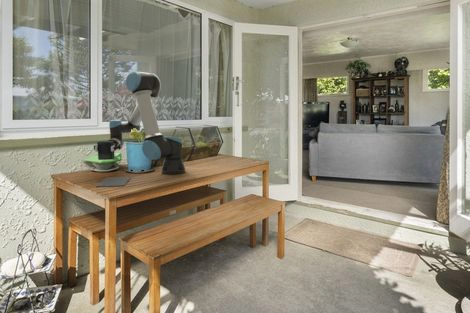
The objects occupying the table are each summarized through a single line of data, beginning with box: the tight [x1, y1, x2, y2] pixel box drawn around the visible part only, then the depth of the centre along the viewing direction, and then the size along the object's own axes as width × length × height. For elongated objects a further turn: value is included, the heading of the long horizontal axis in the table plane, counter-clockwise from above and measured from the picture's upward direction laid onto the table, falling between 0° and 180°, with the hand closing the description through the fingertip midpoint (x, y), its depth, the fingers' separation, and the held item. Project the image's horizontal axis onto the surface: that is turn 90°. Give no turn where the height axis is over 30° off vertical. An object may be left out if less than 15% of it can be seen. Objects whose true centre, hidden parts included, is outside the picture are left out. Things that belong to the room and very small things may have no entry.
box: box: [96, 140, 116, 161], centre depth 185 cm, size 8×6×11 cm
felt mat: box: [95, 176, 132, 188], centre depth 175 cm, size 14×20×1 cm
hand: (103, 149), depth 180 cm, fingers closed on box, 8 cm apart
